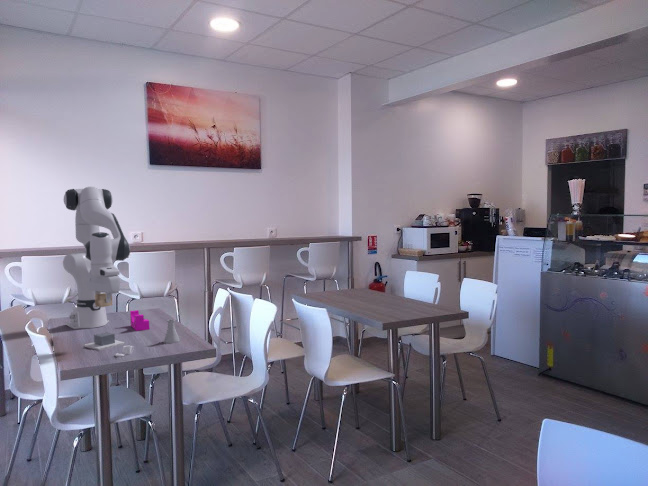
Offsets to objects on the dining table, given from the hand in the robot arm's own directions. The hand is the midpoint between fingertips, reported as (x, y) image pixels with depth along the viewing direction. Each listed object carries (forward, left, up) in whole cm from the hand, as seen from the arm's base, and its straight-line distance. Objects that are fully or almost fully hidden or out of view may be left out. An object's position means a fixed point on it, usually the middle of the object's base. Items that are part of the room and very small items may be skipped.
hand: (103, 302), depth 224 cm
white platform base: (0, 0, -19) cm, 19 cm away
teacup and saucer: (+19, -4, -20) cm, 28 cm away
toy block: (-19, +29, -20) cm, 40 cm away
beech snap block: (0, 0, -2) cm, 2 cm away
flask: (+20, +20, -20) cm, 34 cm away
